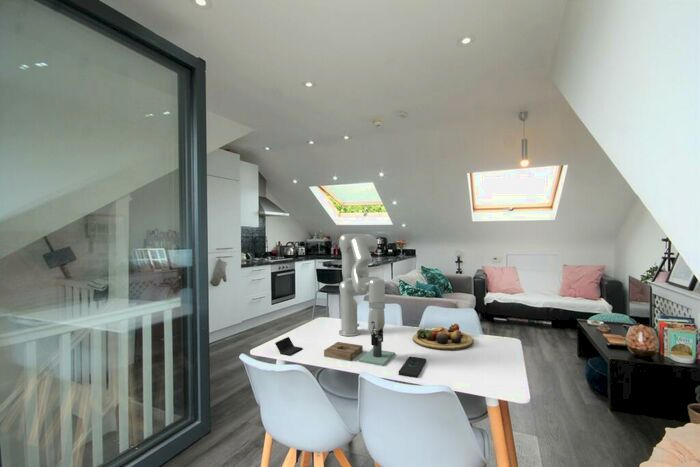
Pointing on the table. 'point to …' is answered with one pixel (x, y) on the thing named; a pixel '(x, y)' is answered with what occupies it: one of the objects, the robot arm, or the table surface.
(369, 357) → the mat
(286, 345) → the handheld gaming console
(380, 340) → the plug
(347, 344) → the wooden block with hole
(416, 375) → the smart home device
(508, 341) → the table surface
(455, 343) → the wooden plate with food
